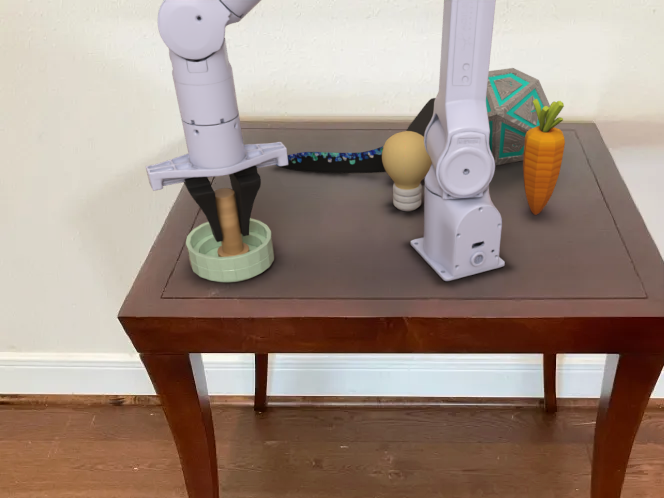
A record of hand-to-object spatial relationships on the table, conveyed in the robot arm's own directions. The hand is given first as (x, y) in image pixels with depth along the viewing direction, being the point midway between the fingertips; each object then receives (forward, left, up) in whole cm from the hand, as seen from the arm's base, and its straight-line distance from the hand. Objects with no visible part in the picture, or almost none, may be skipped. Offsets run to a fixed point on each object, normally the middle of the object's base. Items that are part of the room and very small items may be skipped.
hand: (231, 234), depth 82 cm
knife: (+15, -24, -5) cm, 29 cm away
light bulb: (+5, -24, -5) cm, 25 cm away
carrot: (-4, -38, -4) cm, 39 cm away
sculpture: (+25, -52, -4) cm, 58 cm away
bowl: (+1, 0, -4) cm, 5 cm away
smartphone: (+11, -34, -1) cm, 36 cm away
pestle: (0, 0, -3) cm, 3 cm away
